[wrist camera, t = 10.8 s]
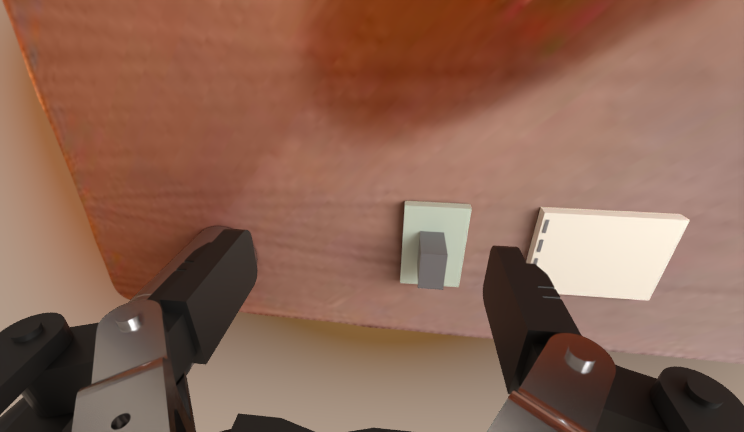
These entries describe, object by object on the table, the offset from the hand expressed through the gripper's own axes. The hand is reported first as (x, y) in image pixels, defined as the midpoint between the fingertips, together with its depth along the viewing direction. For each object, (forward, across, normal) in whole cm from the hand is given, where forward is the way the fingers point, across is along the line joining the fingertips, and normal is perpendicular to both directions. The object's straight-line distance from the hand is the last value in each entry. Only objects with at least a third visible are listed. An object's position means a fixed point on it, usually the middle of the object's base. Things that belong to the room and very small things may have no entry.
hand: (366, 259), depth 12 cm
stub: (+30, -6, +18) cm, 35 cm away
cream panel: (+30, -26, +18) cm, 44 cm away
